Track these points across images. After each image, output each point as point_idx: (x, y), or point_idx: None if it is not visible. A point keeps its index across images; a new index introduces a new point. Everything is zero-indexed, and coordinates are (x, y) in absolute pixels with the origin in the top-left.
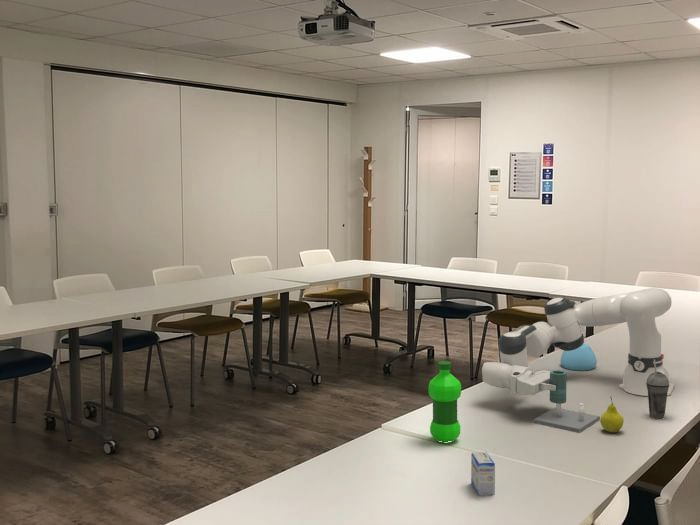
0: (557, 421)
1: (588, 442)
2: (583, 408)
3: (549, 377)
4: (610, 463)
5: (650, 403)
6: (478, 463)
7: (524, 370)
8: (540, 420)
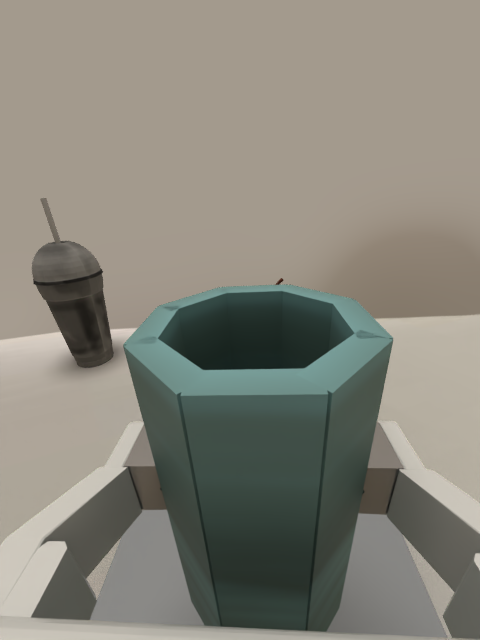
0: (364, 566)
1: (402, 395)
2: None
3: (135, 635)
4: (452, 337)
5: (96, 328)
6: None
7: None
8: None
